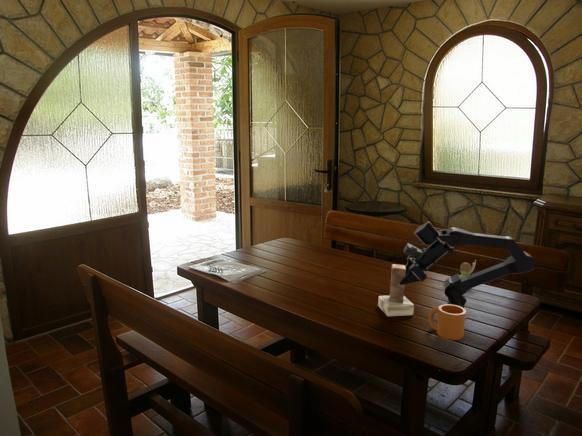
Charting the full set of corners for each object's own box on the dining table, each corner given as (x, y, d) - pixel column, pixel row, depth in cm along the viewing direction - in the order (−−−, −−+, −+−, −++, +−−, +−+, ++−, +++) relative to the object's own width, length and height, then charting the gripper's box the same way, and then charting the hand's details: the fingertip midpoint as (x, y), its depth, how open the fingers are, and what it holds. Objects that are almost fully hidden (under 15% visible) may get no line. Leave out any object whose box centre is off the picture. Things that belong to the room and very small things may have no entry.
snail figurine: (474, 288, 205) (477, 261, 203) (458, 286, 207) (461, 260, 204) (472, 284, 211) (475, 258, 208) (457, 282, 212) (459, 256, 209)
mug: (436, 322, 170) (439, 299, 168) (468, 334, 161) (471, 309, 159) (422, 330, 164) (425, 305, 162) (455, 342, 155) (457, 317, 153)
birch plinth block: (413, 315, 176) (414, 304, 175) (387, 316, 174) (388, 305, 173) (402, 304, 186) (403, 294, 185) (377, 305, 184) (378, 295, 183)
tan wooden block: (402, 298, 181) (405, 265, 178) (403, 303, 176) (405, 269, 173) (389, 296, 182) (391, 263, 179) (389, 301, 177) (391, 267, 174)
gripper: (416, 231, 181) (385, 257, 186) (419, 244, 164) (384, 272, 168) (436, 252, 182) (404, 277, 186) (441, 267, 164) (406, 294, 168)
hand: (399, 279), depth 177 cm, fingers open, 9 cm apart
